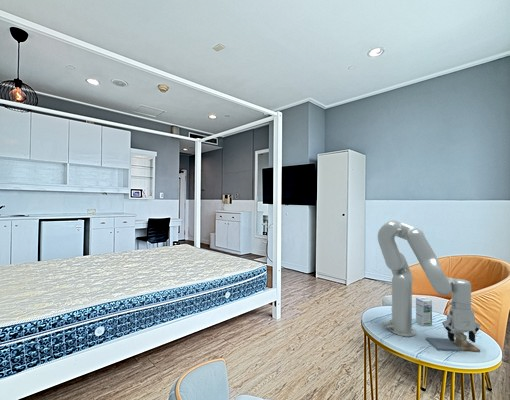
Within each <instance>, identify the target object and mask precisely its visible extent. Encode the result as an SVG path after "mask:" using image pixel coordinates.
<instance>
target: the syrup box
mask: <svg viewBox="0 0 510 400" xmlns="http://www.w3.org/2000/svg"><path fill="white" fill-rule="evenodd" d="M432 301H433V300H432V299H430V298H428V297H426V296H424V297H423V296H422V297H421V296H420V297H415V322H416V323H418V324H419V325H421V326H423V327H424V326H429V327H430V326H433V303H432Z"/></svg>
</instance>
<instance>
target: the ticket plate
mask: <svg viewBox="0 0 510 400" xmlns="http://www.w3.org/2000/svg"><path fill="white" fill-rule="evenodd" d="M425 341H427V342H428V344H430V345H431V346H432V347H433V348H434V349H436V350H437V351H438V352H442V351H443V352H444V351H445V352H459V353H462V352H463V351H462V349H461V348H460V347H458V346H457V345H456V344H454V343H453V342H452V341H450V340H449V338H443V337H442V338H441V337H425Z"/></svg>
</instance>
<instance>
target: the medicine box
mask: <svg viewBox="0 0 510 400" xmlns="http://www.w3.org/2000/svg"><path fill="white" fill-rule="evenodd" d="M448 319H449V314H446V320H448ZM447 326H448V327H449V324H448V325H447ZM451 329H452V328H451ZM456 332H461V333H463V334H464V335H465V333H464V332H465V331H459V330H455V331H454V332H453V333H454V338H456Z"/></svg>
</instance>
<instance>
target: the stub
mask: <svg viewBox="0 0 510 400" xmlns="http://www.w3.org/2000/svg"><path fill="white" fill-rule="evenodd" d="M448 339H449V338H448ZM449 340H450V339H449ZM450 341H451V340H450ZM452 342H453V341H452ZM453 343H454V344H456V345H457V346H458V347H460V348H461V349H462V352H463V351H464V352H481V349H480V348H479V347H478V346H475V345H474V344H472V343H471V342H470V341H468V340H467V335H466V334H465V333H464V334H463V333H461V332H456V337H455V338H454V342H453Z"/></svg>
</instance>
